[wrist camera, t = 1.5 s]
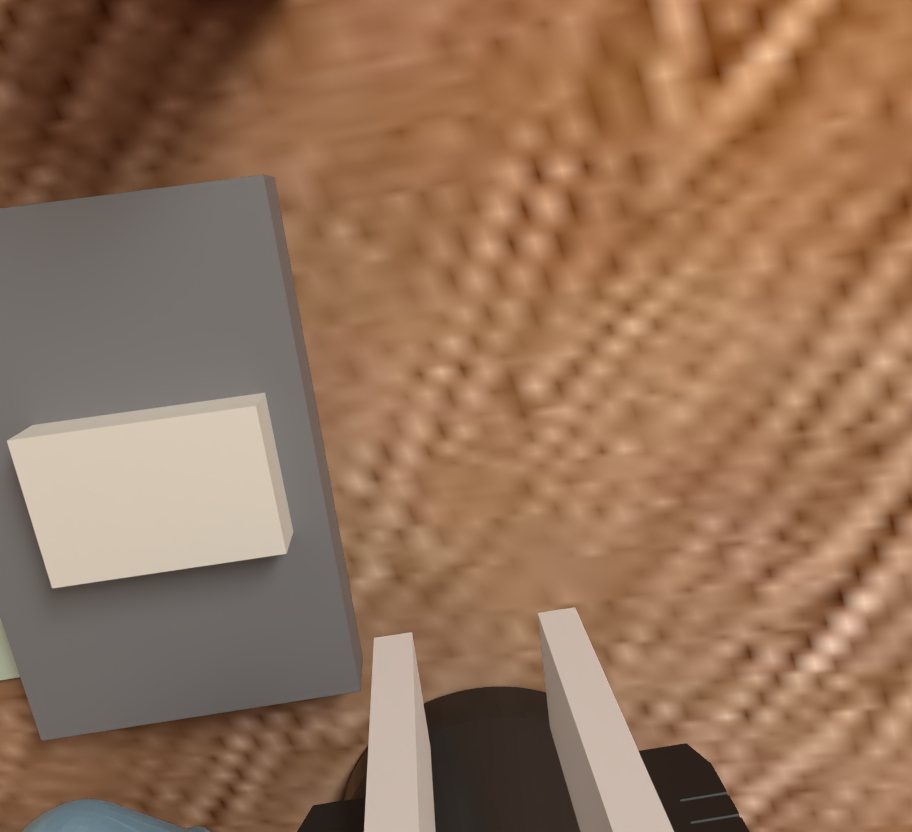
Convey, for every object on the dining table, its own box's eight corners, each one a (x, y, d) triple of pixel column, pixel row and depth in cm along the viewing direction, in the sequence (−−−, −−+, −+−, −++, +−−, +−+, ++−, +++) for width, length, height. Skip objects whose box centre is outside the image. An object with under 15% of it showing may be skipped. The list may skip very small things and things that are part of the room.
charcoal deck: (362, 658, 36) (360, 691, 33) (65, 704, 35) (41, 740, 33) (274, 176, 30) (263, 174, 27) (-87, 223, 29) (-131, 225, 27)
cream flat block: (265, 392, 29) (255, 405, 28) (293, 532, 31) (286, 553, 29) (32, 425, 29) (6, 440, 27) (73, 564, 31) (52, 588, 29)
